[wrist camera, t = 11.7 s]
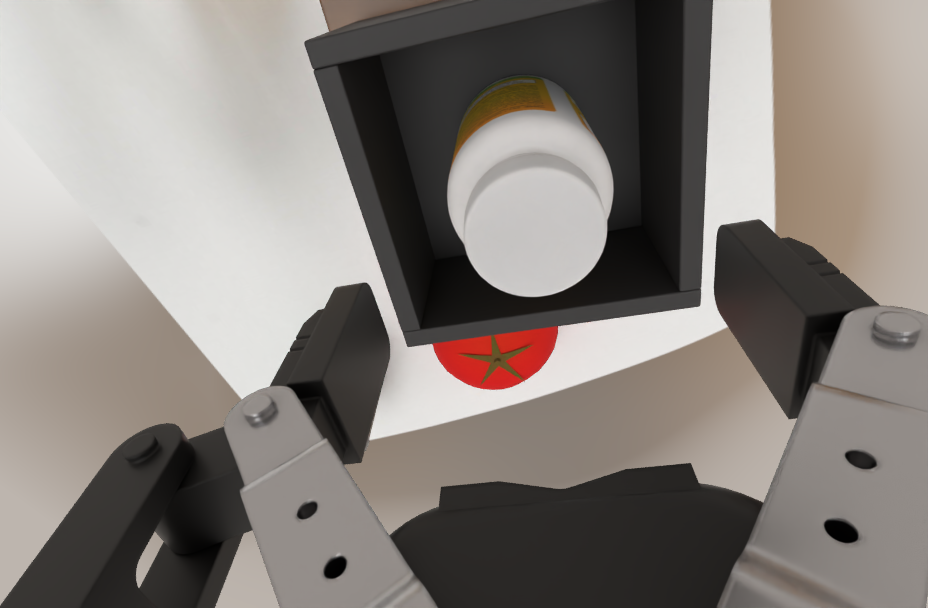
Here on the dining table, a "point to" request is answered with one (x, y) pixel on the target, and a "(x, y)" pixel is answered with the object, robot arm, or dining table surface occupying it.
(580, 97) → the dark grey open box
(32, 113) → the dining table surface
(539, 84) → the supplement bottle
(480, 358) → the tomato
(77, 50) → the dining table surface
